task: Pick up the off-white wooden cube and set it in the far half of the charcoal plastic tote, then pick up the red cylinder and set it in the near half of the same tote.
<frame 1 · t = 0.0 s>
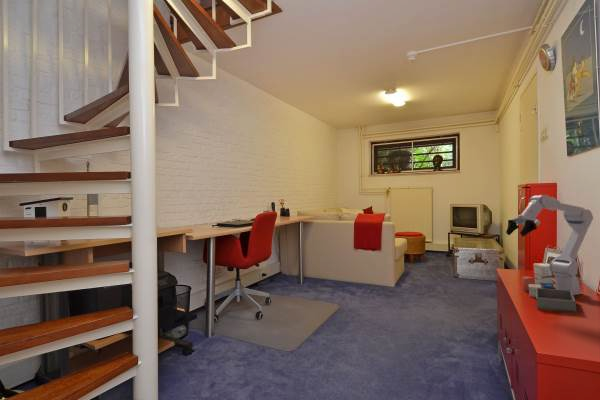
hand: (514, 234, 151), 32 cm above the sideboard, tool tilted 50°, fingers open, 7 cm apart
cylinder: (529, 291, 165), on the sideboard
ink box: (544, 286, 171), on the sideboard
cube: (535, 295, 157), on the sideboard
tote: (555, 305, 142), on the sideboard
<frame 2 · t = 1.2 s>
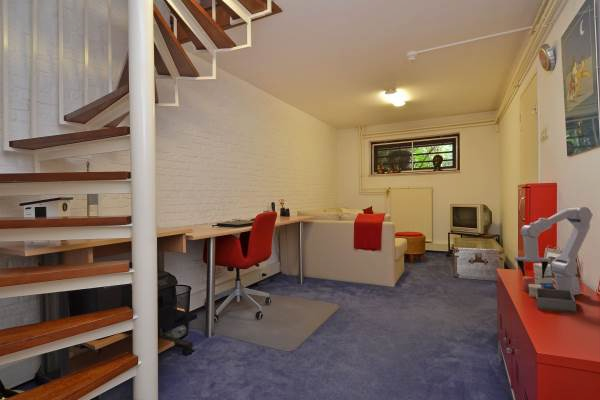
hand: (533, 276, 157), 10 cm above the sideboard, tool pointing down, fingers open, 7 cm apart
nothing on the sideboard moved.
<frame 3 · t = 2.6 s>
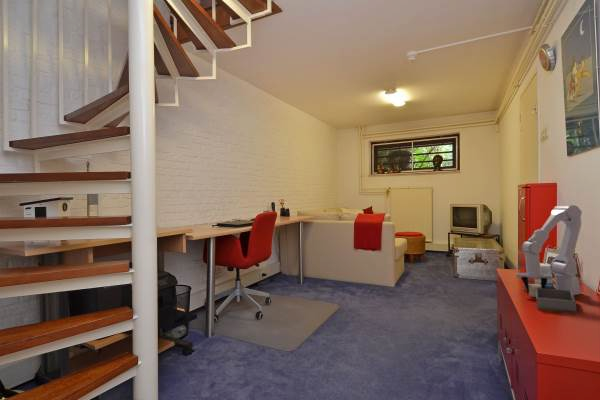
hand: (535, 292, 157), 1 cm above the sideboard, tool pointing down, fingers closed on cube, 5 cm apart
cube: (535, 295, 157), on the sideboard, touching gripper
everything else where it was.
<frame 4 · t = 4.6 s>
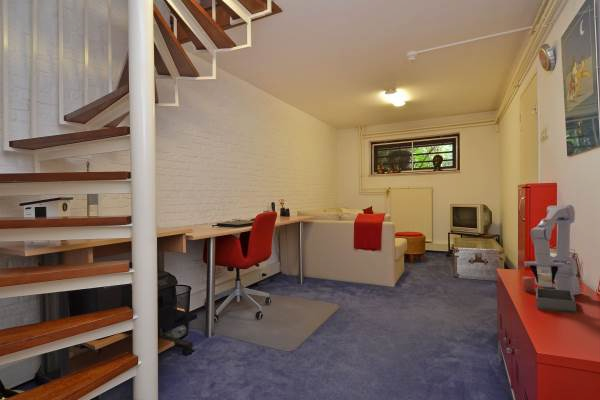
hand: (545, 282, 146), 10 cm above the sideboard, tool pointing down, fingers closed on cube, 5 cm apart
cube: (545, 285, 146), point 8 cm above the sideboard, touching gripper
everything else where it was.
when the fingers open (3 cm above the sideboard, at t = 6.8 s): cube stays where it is, resting on tote.
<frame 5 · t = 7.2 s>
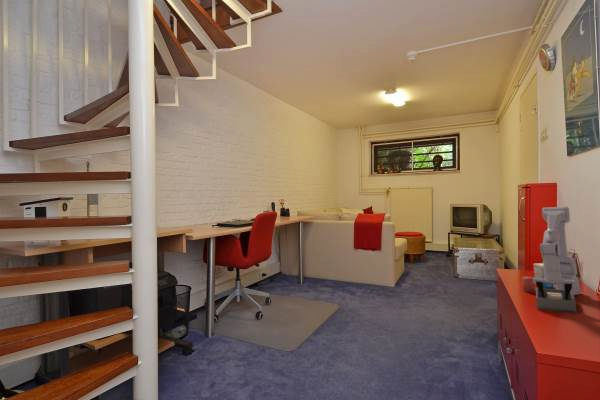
hand: (554, 300, 139), 3 cm above the sideboard, tool pointing down, fingers open, 7 cm apart
cube: (555, 305, 139), point 1 cm above the sideboard, touching tote
everything else where it was.
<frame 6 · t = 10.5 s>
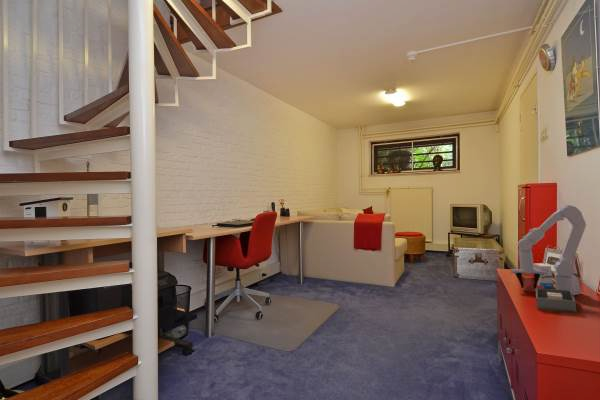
hand: (528, 287, 165), 2 cm above the sideboard, tool pointing down, fingers closed on cylinder, 5 cm apart
cylinder: (529, 290, 165), on the sideboard, touching gripper
everything else where it was.
when the fingers open (4 cm above the sideboard, at t = 14.5 s): cylinder stays where it is, resting on tote.
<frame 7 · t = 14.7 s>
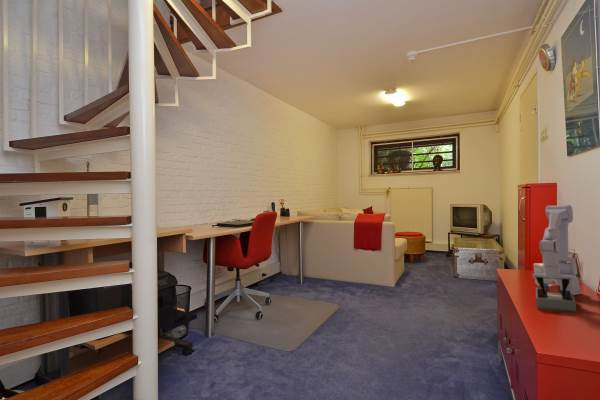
hand: (553, 294, 146), 4 cm above the sideboard, tool pointing down, fingers open, 6 cm apart
cylinder: (554, 300, 146), point 1 cm above the sideboard, touching tote
everything else where it was.
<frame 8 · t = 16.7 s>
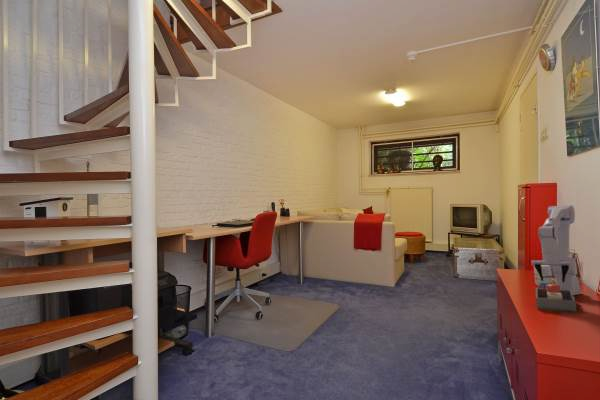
hand: (552, 281, 146), 10 cm above the sideboard, tool pointing down, fingers open, 7 cm apart
nothing on the sideboard moved.
at the end: cube inside the target area on the tote (3.9 cm from its centre), point 1.0 cm above the tote's base; cylinder inside the target area on the tote (4.2 cm from its centre), point 1.0 cm above the tote's base; the gripper is holding nothing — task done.
